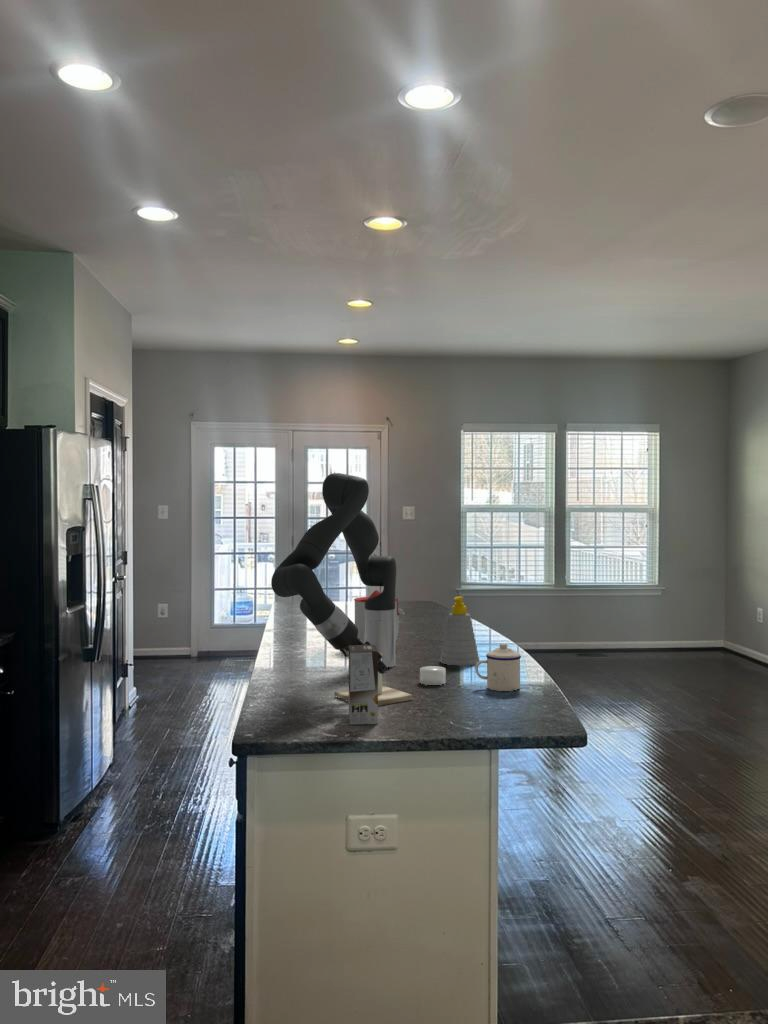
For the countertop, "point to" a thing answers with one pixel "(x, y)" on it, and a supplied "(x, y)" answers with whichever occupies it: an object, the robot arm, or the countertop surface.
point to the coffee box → (363, 684)
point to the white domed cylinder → (432, 675)
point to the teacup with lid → (502, 669)
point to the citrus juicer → (361, 614)
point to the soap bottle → (459, 638)
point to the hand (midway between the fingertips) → (374, 668)
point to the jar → (380, 680)
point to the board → (382, 696)
